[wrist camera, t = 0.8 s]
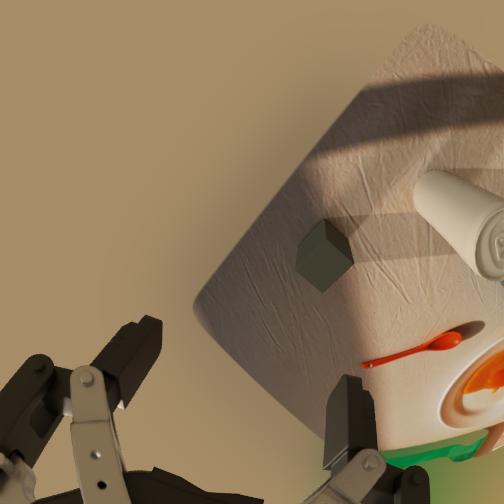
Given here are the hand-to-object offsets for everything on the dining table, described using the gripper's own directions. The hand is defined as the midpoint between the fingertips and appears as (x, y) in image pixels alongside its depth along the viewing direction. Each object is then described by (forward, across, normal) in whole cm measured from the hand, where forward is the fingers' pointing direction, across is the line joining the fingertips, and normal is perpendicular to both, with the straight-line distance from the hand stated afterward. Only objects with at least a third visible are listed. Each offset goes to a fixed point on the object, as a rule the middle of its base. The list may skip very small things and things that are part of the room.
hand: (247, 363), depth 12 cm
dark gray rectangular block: (+17, -4, 0) cm, 17 cm away
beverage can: (+17, -12, -7) cm, 22 cm away
